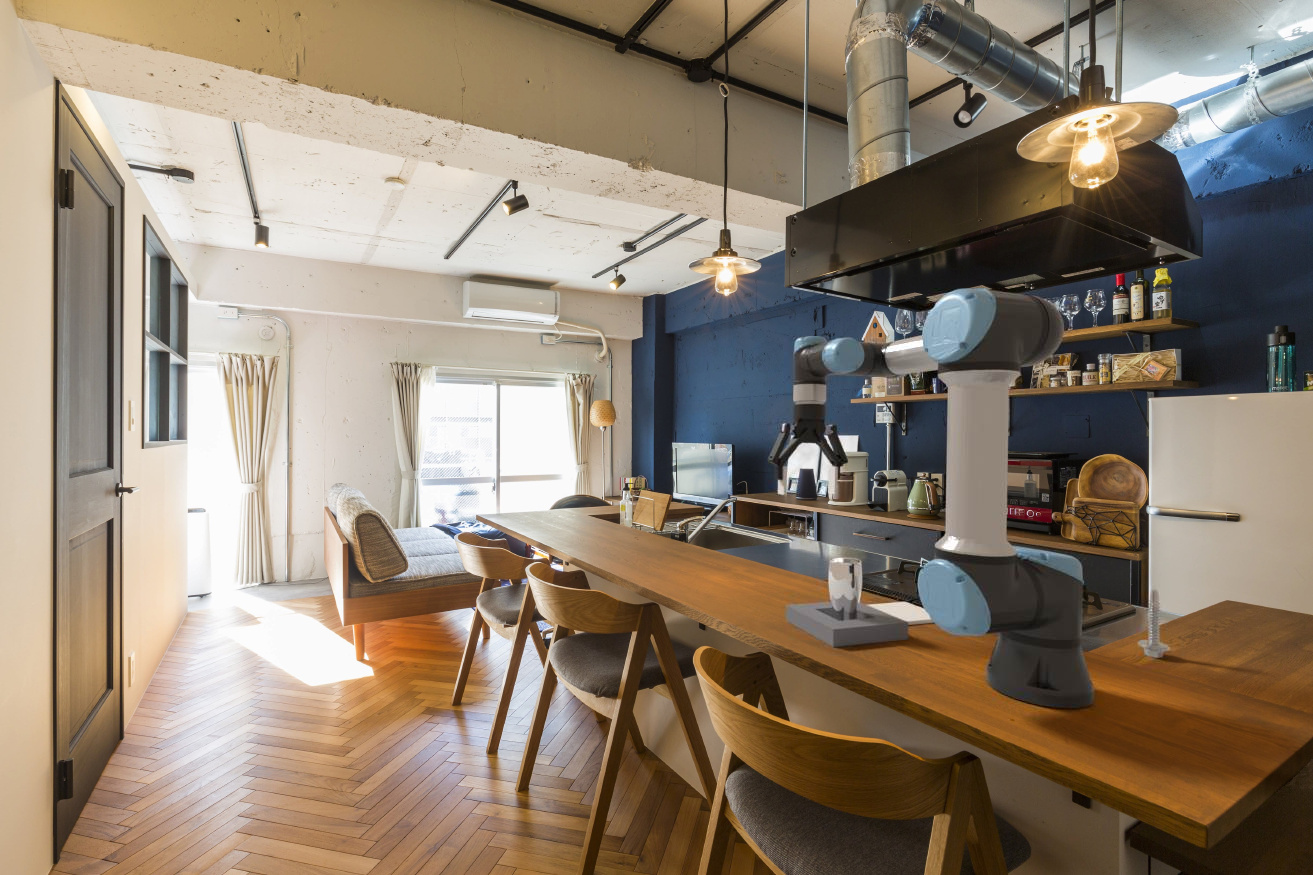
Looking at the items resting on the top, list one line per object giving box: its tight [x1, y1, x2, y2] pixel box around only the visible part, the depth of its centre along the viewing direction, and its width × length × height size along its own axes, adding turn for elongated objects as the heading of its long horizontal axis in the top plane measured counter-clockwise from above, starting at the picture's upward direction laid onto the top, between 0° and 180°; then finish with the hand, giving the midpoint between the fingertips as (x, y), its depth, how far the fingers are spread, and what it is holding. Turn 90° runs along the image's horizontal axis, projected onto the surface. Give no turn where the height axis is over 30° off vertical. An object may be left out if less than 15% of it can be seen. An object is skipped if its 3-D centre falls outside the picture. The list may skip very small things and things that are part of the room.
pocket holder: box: [785, 601, 909, 648], centre depth 132 cm, size 18×18×4 cm
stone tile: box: [867, 601, 935, 626], centre depth 144 cm, size 14×14×1 cm
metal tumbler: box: [827, 556, 863, 621], centre depth 132 cm, size 7×7×15 cm
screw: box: [1137, 588, 1171, 659], centre depth 119 cm, size 13×5×5 cm
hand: (807, 494), depth 144 cm, fingers open, 13 cm apart
